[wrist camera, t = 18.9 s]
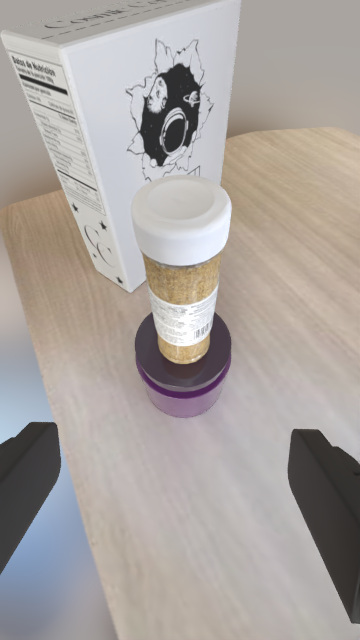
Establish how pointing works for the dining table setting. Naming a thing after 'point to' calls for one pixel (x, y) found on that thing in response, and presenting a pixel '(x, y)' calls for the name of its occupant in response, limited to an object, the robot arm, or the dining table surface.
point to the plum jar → (183, 371)
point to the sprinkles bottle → (182, 258)
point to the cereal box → (127, 107)
